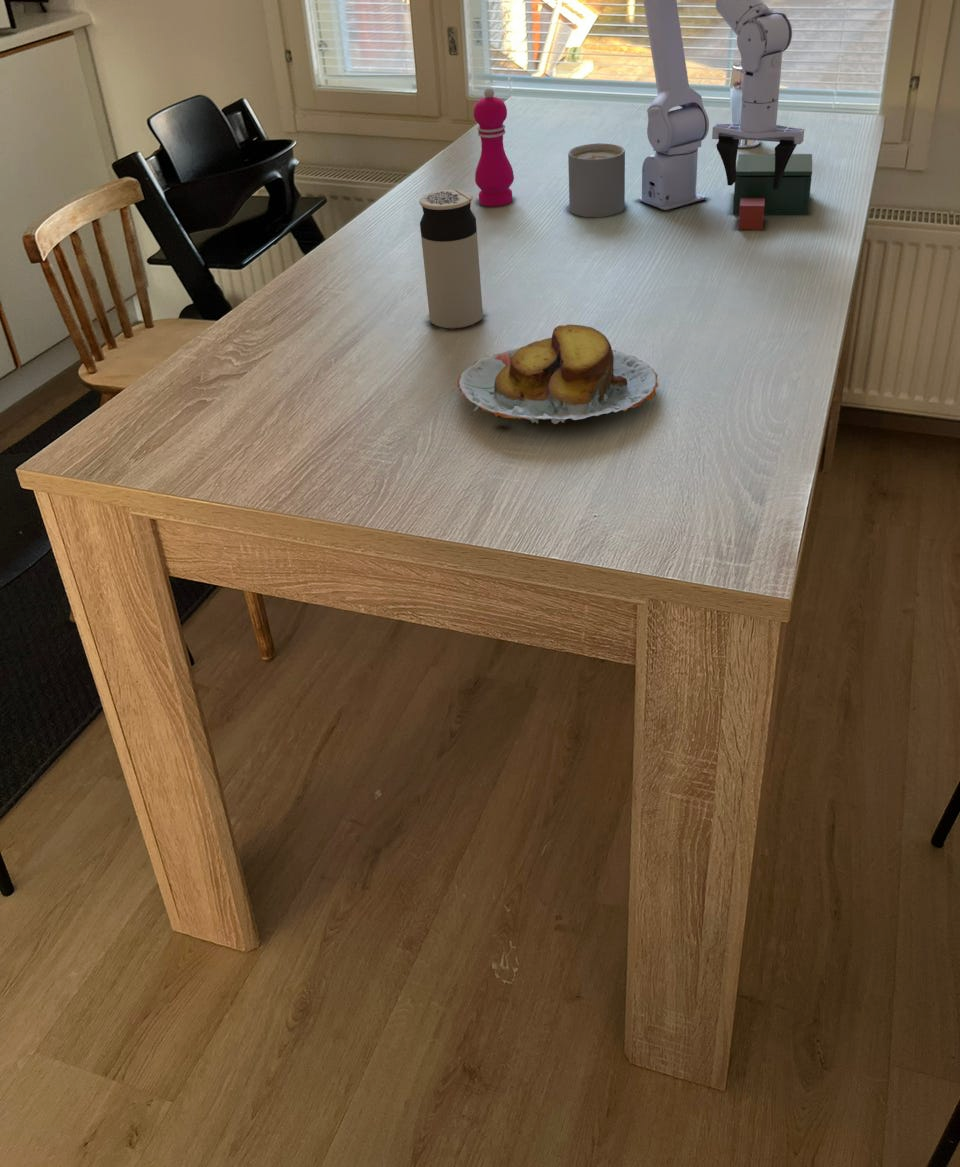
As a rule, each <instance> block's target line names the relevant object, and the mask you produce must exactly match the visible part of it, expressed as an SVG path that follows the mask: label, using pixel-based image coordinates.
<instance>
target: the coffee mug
mask: <svg viewBox="0 0 960 1167" xmlns="http://www.w3.org/2000/svg"><path fill="white" fill-rule="evenodd" d="M567 154H568V155H567V158H568V161H567V162H568V201H569V204H568V206H569V207H568V208H569V212H570V213H572V214H573V215H576V216H579V217H583V218H604V217H610V216H614V215H618V214H619V213H621V212H622V211H624V210H625V207H626V205H625V203H626V202H625V200H626V199H625V198H626V197H625V196H626V148H624V147H623V146H621V145H619V144H614V143H606V142H605V143H603V142H601V143H599V142H598V143H596V142H595V143H587V144H581V145H578V146H575V147H573V148H571V149H570V150H569V151H568V152H567Z"/></svg>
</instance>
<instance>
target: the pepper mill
mask: <svg viewBox="0 0 960 1167" xmlns="http://www.w3.org/2000/svg"><path fill="white" fill-rule="evenodd" d="M483 94H484V97H483V98H481V99H479V100H477V102H476V103H475V105H474V107H473V119H474V120H475V122H476V123H477V124H478V127H477V135H478V137H479V138H480V142H481V151H480V155H479V156H480V157H479V159H478V162H477V166H476V168H475V172H474V175H475V176H474V182H475V184H476V186H477V187H478V189H480V191H479V192H478V202H479V204H480V205H481V206H484V207H490V208H491V207H492V208H493V207H503V206H507V205H508V204H510V203H512V201H513V190H512V189H511V188H510V187H511V186H512V184H513V183H514V181H515V174H514V170H513V166H512V164H511V162H510V161H509V159H508V156H507V154H506V151H505V148H504V135H505V134H506V129H505V128H506V125H505V124H504V122H505V121H506V119H507V117H508V109H507V105H506V103H505V101H503V100H502V99H501V98H499V97H497V96H494V95H495V90H494V89H493V88H492V87H487V88H485V89H484V92H483Z"/></svg>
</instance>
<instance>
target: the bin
mask: <svg viewBox="0 0 960 1167" xmlns="http://www.w3.org/2000/svg"><path fill="white" fill-rule="evenodd" d="M812 176H813V175H812ZM812 176H783V177H782V180H781V185H780V187H779V188H778V189H773V180H774V176H736V179H735V183H734V190H733V206H732V214H733V215H739V210H740V201H741V198H765V207H764V215H797V216H798V215H803V216H804V215H805V216H806V215H809V207H810V195H811V185H812Z"/></svg>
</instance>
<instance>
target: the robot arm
mask: <svg viewBox="0 0 960 1167" xmlns="http://www.w3.org/2000/svg"><path fill="white" fill-rule="evenodd" d="M642 1H643V7H644V15H645V20H646V21H645V22H646V26H647V33H648V34H647V35H648V40H649V47H650V52H651V58H652V64H653V72H654V78H655V84H656V90H657V95H655V98H654V99H653V100H652V102H651V103H650V104H649V105H648V107H647V109H646V113H647V119H648V120H647V128H646V135H647V139H648V142H649V144H650V146H651V147H652V148H653V150H652V151H654V153H653V154H651V155H649V156H647V157H646V158H644V160H643V162H642V166H641V196H640V197H639V198H638V200H639V201H640V202H642V203H645V204H647V205H650V206H652V207H655V208H658V209H660V210H663V211H669V210H672V209H675V208H680V207H683V206H687V205H690V204H694V203H697V202H700V201H703V200H706V199H707V196H706V195H704V194H701V193H698V192H697V179H698V178H697V177H698V158H699V157H698V154H699V148H702V141H704V140H705V139H706V137H707V136H708V134H709V129H710V121H709V120H710V119H709V116H708V113H707V111H706V109H705V107H704V103H703V99H702V98H703V96H702V95H701V94H700V93H699V92H697V91H696V90H694V89H693V88H692V87H690V84H689V77H688V70H687V64H686V56H685V50H684V43H683V37H682V30H681V22H680V15H679V9H678V3H677V0H642ZM715 10H716V11H717V13H718V14H719V15H720V16H721V17H722V19H723V20H724V21H725V22H726V24H727V25H728V26H729V27H730V29H731V30H732V32H734V34H735V35H736V36H737V37H736V44H737V45H736V46H737V50H738V52H739V54H740V58H741V60H740V62H741V66H742V69H743V70H744V74H743V90H742V104H741V120H740V124H732V123H716V124H714V126H712V132H711V133H712V135H711V139H712V140H718V141H717V143H716V144H715V146H716V150H717V152H718V155H719V156H720V159H721V160H722V164H723V167H724V171H725V175H726V183H727V186H730V187H731V186H733V185H735V179H736V166H737V159H738V149H739V148H738V144H739V139H740V140H757V141H760V142H775V143H776V142H777V145H776V146H775V147H774V154H775V173H774V180H773V189H778V188H779V187H780V185H781V180H782V177H783V173H784V171H785V168H786V165H787V163H788V161H789V159H790V157H791V155H792V154H794V151H795V149H796V148H797V145H801V144H802V143H803V142H804V137H805V128H801V127H800V128H799V127H791V126H786V125H781V124H777V121H778V109H779V99H780V98H779V97H780V86H781V74H782V73H781V72H782V63H783V61H782V59H783V53H784V52H785V51H787V49H789V47H790V45H791V42H792V39H793V28H792V24H791V20H790V19H789V18H788V16H787V14H786V13H785V12H783V11H775V10H773V9H772V8H771V9H769V6H768V5H767V4H766V3H764V2H763V0H715ZM676 107H680V108H677V109H674V110H672V109H673V108H676Z"/></svg>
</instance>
